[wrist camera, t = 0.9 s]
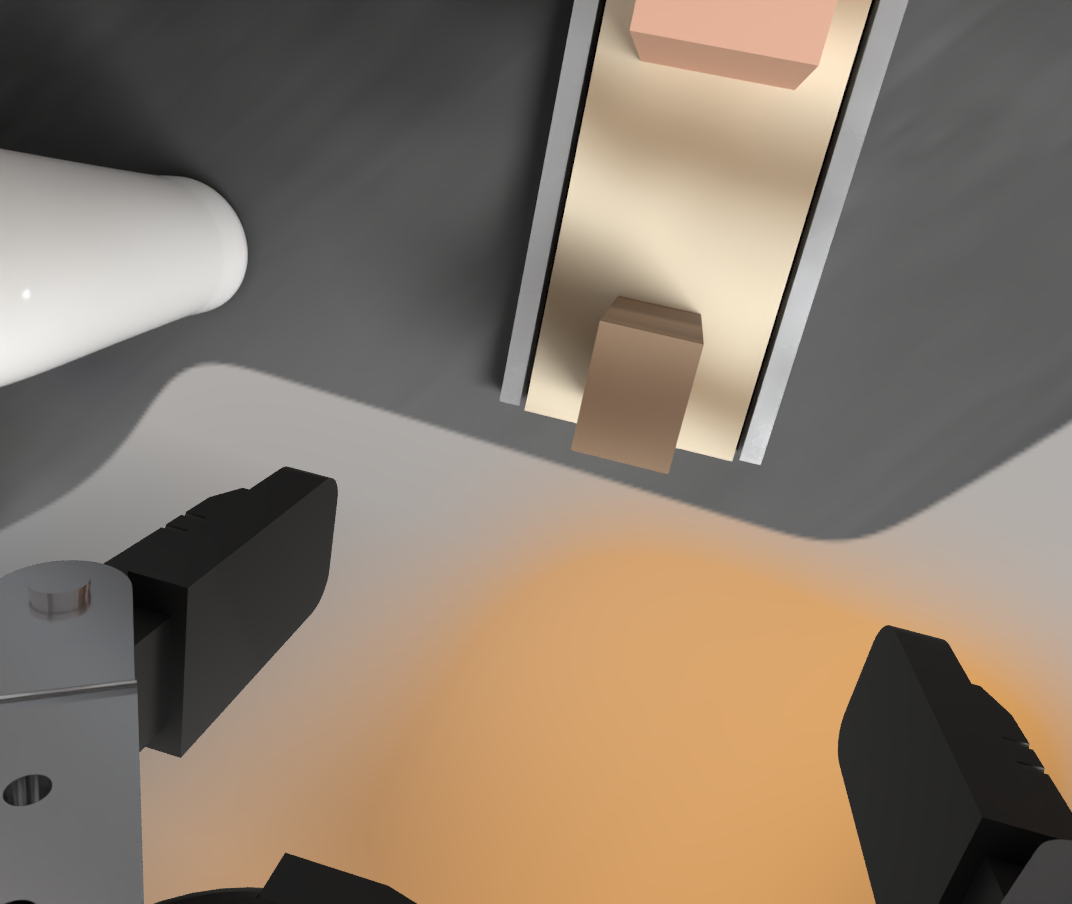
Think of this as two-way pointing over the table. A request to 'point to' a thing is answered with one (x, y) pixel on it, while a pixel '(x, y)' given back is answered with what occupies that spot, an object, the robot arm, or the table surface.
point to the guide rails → (812, 245)
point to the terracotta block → (735, 37)
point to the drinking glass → (104, 257)
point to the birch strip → (678, 245)
